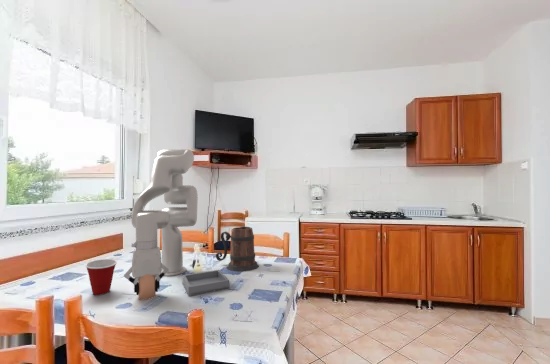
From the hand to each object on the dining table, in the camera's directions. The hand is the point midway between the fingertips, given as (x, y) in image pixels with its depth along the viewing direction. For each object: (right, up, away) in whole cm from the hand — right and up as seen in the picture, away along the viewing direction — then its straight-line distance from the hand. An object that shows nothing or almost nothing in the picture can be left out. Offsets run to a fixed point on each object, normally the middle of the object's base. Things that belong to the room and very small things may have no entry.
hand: (147, 291), depth 105 cm
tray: (+20, -1, +10) cm, 22 cm away
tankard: (+29, -2, +38) cm, 48 cm away
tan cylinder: (0, -2, 0) cm, 2 cm away
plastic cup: (-20, -2, +4) cm, 21 cm away
